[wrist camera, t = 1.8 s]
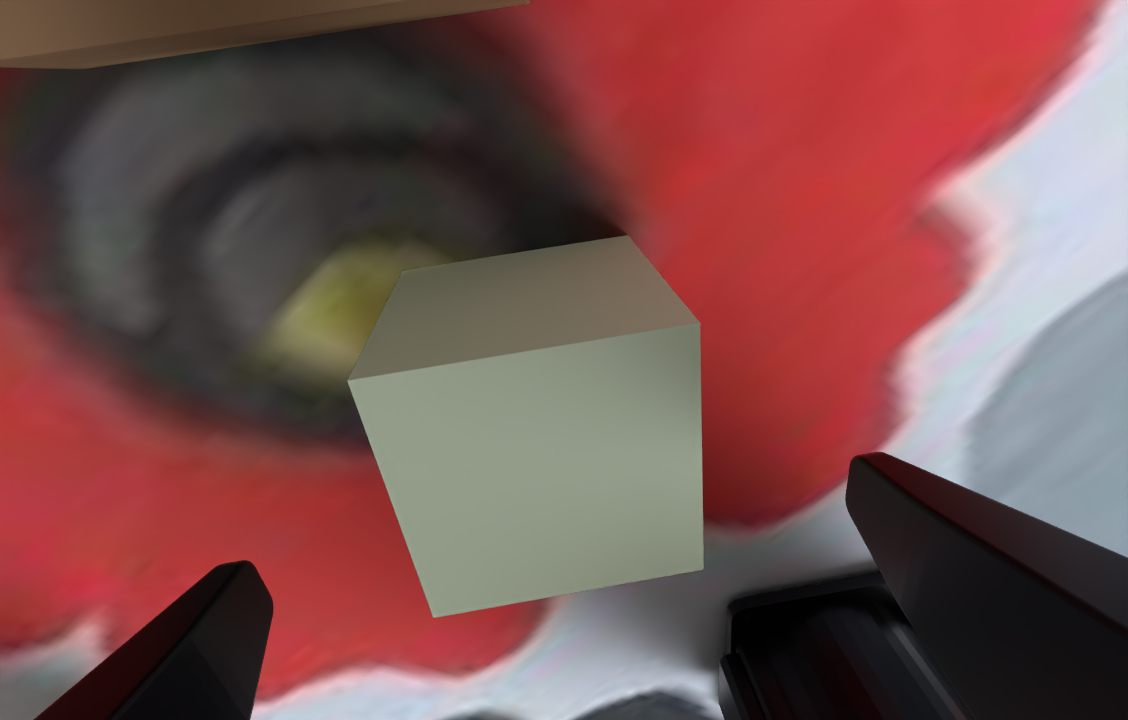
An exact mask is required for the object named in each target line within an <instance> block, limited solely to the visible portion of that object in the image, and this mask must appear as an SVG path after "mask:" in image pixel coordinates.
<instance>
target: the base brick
mask: <svg viewBox="0 0 1128 720" xmlns="http://www.w3.org/2000/svg"><path fill="white" fill-rule="evenodd" d="M529 3H530V0H0V67H1V68H50V69H88V68H95V67H102V66H109V65H116V64H122V63H129V62H136V61H143V60H150V59H156V58H163V57H170V56H177V55H184V54H191V53H197V52H204V51H211V50H218V49H225V48H231V47H238V46H245V45H252V44H259V43H266V42H272V41H279V40H286V39H293V38H300V37H306V36H313V35H320V34H327V33H334V32H341V31H347V30H354V29H361V28H368V27H375V26H381V25H388V24H395V23H402V22H409V21H416V20H422V19H429V18H436V17H443V16H450V15H457V14H463V13H470V12H477V11H484V10H491V9H497V8H504V7H511V6H518V5H525V4H529Z"/></svg>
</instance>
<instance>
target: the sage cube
mask: <svg viewBox="0 0 1128 720" xmlns="http://www.w3.org/2000/svg"><path fill="white" fill-rule="evenodd" d="M347 381H348V384H349V387H350V390H351V392H352V395H353V398H354V401H355V403H356V406H357V409H358V412H359V414H360V417H361V420H362V423H363V425H364V428H365V431H366V434H367V436H368V439H369V442H370V445H371V447H372V450H373V453H374V456H375V458H376V461H377V464H378V467H379V469H380V472H381V475H382V478H383V480H384V483H385V486H386V489H387V491H388V494H389V497H390V500H391V502H392V505H393V508H394V511H395V513H396V516H397V519H398V522H399V524H400V527H401V530H402V533H403V535H404V538H405V541H406V544H407V546H408V549H409V552H410V555H411V557H412V560H413V563H414V566H415V568H416V571H417V574H418V577H419V579H420V582H421V585H422V588H423V590H424V593H425V596H426V599H427V601H428V604H429V607H430V610H431V612H432V615H433V618H436V617H442V616H447V615H453V614H459V613H464V612H470V611H475V610H481V609H486V608H492V607H498V606H503V605H509V604H514V603H520V602H526V601H531V600H537V599H542V598H548V597H553V596H559V595H565V594H570V593H576V592H581V591H587V590H593V589H598V588H604V587H609V586H615V585H620V584H626V583H632V582H637V581H643V580H648V579H654V578H660V577H665V576H671V575H676V574H682V573H687V572H693V571H699V570H704V554H703V485H702V417H701V349H700V322H699V321H698V320H697V318H696V317H695V316H694V315H693V314H692V312H691V311H690V310H689V309H688V308H687V306H686V305H685V304H684V303H683V301H682V300H681V299H680V298H679V297H678V295H677V294H676V293H675V292H674V291H673V289H672V288H671V287H670V286H669V284H668V283H667V282H666V281H665V280H664V278H663V277H662V276H661V275H660V273H659V272H658V271H657V270H656V269H655V267H654V266H653V265H652V264H651V263H650V261H649V260H648V259H647V258H646V256H645V255H644V254H643V253H642V252H641V250H640V249H639V248H638V247H637V245H636V244H635V243H634V242H633V241H632V239H631V238H630V237H629V236H628V235H625V236H619V237H613V238H606V239H600V240H594V241H587V242H581V243H575V244H568V245H562V246H556V247H549V248H543V249H536V250H530V251H524V252H517V253H511V254H505V255H498V256H492V257H486V258H479V259H473V260H467V261H460V262H454V263H447V264H441V265H435V266H428V267H422V268H416V269H409V270H403V271H402V273H401V275H400V277H399V279H398V281H397V283H396V285H395V287H394V289H393V290H392V292H391V294H390V296H389V298H388V300H387V302H386V304H385V306H384V308H383V310H382V312H381V314H380V316H379V318H378V320H377V322H376V324H375V326H374V328H373V330H372V332H371V334H370V336H369V338H368V340H367V342H366V344H365V346H364V348H363V350H362V352H361V354H360V356H359V358H358V360H357V362H356V364H355V366H354V368H353V370H352V372H351V374H350V376H349V378H348V380H347Z"/></svg>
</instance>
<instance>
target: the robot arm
mask: <svg viewBox="0 0 1128 720" xmlns="http://www.w3.org/2000/svg"><path fill="white" fill-rule="evenodd" d="M845 499H846V506H847V509H848V512H849V514H850V516H851V518H852V520H853V522H854V524H855V525H856V527H857V529H858V531H859V533H860V535H861V537H862V538H863V540H864V542H865V544H866V546H867V548H868V550H869V551H870V553H871V555H872V557H873V559H874V561H875V563H876V564H877V566H878V568H879V570H880V572H881V573H877V574H871V575H866V576H860V577H854V578H849V579H843V580H838V581H832V582H827V583H821V584H816V585H810V586H805V587H799V588H794V589H788V590H783V591H777V592H771V593H766V594H760V595H755V596H749V597H744V598H740V599H737V600H735V601H733V602H732V603H731V604H730V605H729V606H728V608H727V632H726V653H725V654H723V655H722V657H721V659H720V661H719V705H720V708H721V711H722V714H723V716H724V719H725V720H1128V558H1127V557H1125V556H1123V555H1120V554H1118V553H1116V552H1113V551H1111V550H1109V549H1107V548H1104V547H1102V546H1100V545H1097V544H1095V543H1093V542H1090V541H1088V540H1086V539H1083V538H1081V537H1079V536H1076V535H1074V534H1072V533H1069V532H1067V531H1065V530H1062V529H1060V528H1058V527H1056V526H1053V525H1051V524H1049V523H1046V522H1044V521H1042V520H1039V519H1037V518H1035V517H1032V516H1030V515H1028V514H1025V513H1023V512H1021V511H1018V510H1016V509H1014V508H1011V507H1009V506H1007V505H1005V504H1002V503H1000V502H998V501H995V500H993V499H991V498H988V497H986V496H984V495H981V494H979V493H977V492H974V491H972V490H970V489H967V488H965V487H963V486H960V485H958V484H956V483H953V482H951V481H949V480H947V479H944V478H942V477H940V476H937V475H935V474H933V473H930V472H928V471H926V470H923V469H921V468H919V467H916V466H914V465H912V464H909V463H907V462H905V461H902V460H900V459H898V458H896V457H893V456H891V455H889V454H886V453H883V452H873V453H868V454H862V455H857V456H855V457H853V459H852V460H851V462H850V468H849V475H848V482H847V489H846V498H845ZM272 617H273V601H272V597H271V595H270V593H269V591H268V589H267V588H266V586H265V584H264V582H263V580H262V578H261V577H260V575H259V573H258V571H257V569H256V567H255V566H254V564H253V563H251V562H250V561H246V560H242V561H236V562H230V563H224V564H221V565H218V566H216V567H215V568H214V569H212V570H211V571H210V572H209V573H208V574H206V575H205V576H204V577H203V578H202V579H200V580H199V581H198V582H197V583H196V584H195V585H193V586H192V587H191V588H190V589H189V590H187V591H186V592H185V593H184V594H183V595H181V596H180V597H179V598H178V599H177V600H175V601H174V602H173V603H172V604H171V605H170V606H168V607H167V608H166V609H165V610H164V611H162V612H161V613H160V614H159V615H158V616H156V617H155V618H154V619H153V620H152V621H150V622H149V623H148V624H147V625H146V626H145V627H143V628H142V629H141V630H140V631H139V632H137V633H136V634H135V635H134V636H133V637H131V638H130V639H129V640H128V641H127V642H125V643H124V644H123V645H122V646H121V647H120V648H118V649H117V650H116V651H115V652H114V653H112V654H111V655H110V656H109V657H108V658H106V659H105V660H104V661H103V662H102V663H100V664H99V665H98V666H97V667H96V668H95V669H93V670H92V671H91V672H90V673H89V674H87V675H86V676H85V677H84V678H83V679H81V680H80V681H79V682H78V683H77V684H75V685H74V686H73V687H72V688H71V689H69V690H68V691H67V692H66V693H65V694H64V695H62V696H61V697H60V698H59V699H58V700H56V701H55V702H54V703H53V704H52V705H50V706H49V707H48V708H47V709H46V710H44V711H43V712H42V713H41V714H40V715H39V716H37V717H36V718H35V719H34V720H250V718H251V714H252V710H253V706H254V701H255V697H256V692H257V687H258V682H259V678H260V673H261V668H262V664H263V659H264V654H265V650H266V645H267V640H268V635H269V631H270V626H271V621H272Z"/></svg>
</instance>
